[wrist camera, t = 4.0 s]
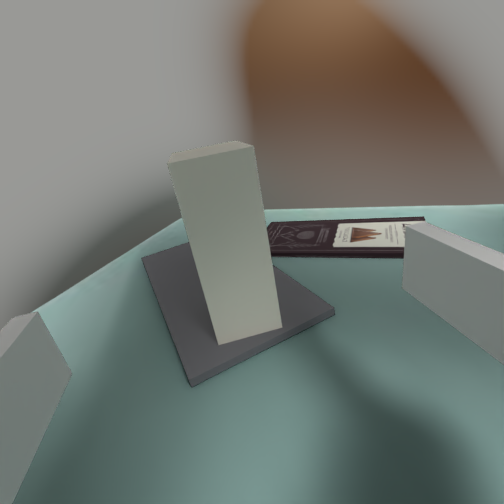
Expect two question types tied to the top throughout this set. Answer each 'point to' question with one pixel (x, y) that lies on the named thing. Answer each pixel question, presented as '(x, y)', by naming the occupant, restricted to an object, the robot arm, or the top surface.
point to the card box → (228, 237)
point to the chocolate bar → (340, 238)
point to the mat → (199, 321)
